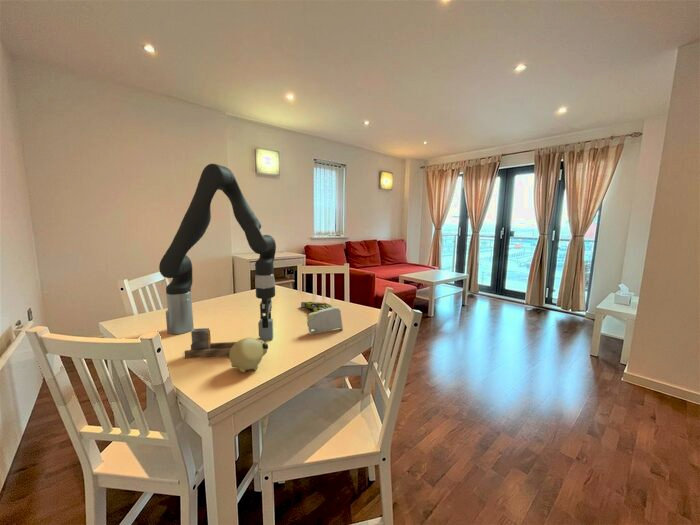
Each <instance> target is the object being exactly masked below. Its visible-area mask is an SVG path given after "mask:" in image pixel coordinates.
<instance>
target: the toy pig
mask: <svg viewBox="0 0 700 525" xmlns="http://www.w3.org/2000/svg"><path fill="white" fill-rule="evenodd" d="M235 342H236V343H235V344H234V345H233V346H232V347H231V349H230V353H229V361H230V363H231V364H230V366H231V367H232V368H235V369H238V370H239V371H240V372H241V373H245V371H248V370H252V369H253V370H254V371H257V370H258V368H259V364H260V363H261V361H262V360H263V359H262V358H263V357H264V356H265V355H266V354H267V353H268V349H269V344H268V343H266V342H265V340H260V339H258V338H256V339H255V338H254V337H247V338H242V339H239V340H238V341H235Z"/></svg>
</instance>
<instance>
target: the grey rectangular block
mask: <svg viewBox="0 0 700 525" xmlns="http://www.w3.org/2000/svg"><path fill="white" fill-rule="evenodd" d="M257 326H258V327H257V329H258V337H259V340H262V341H273V340H274V319H273V318H271V319H268V328H262V319H261V318H259V321H258V325H257Z"/></svg>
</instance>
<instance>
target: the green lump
mask: <svg viewBox="0 0 700 525" xmlns="http://www.w3.org/2000/svg"><path fill="white" fill-rule="evenodd" d="M300 307H303V308H306V309H307V308H308V309H309V310H313V312H317V311H319V310H320V309H326V308H330V307H333V306H332V305H331V304H329V303H327V302H317V301H316V302H315V301H301V302H300Z"/></svg>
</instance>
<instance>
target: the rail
mask: <svg viewBox="0 0 700 525" xmlns="http://www.w3.org/2000/svg"><path fill="white" fill-rule="evenodd" d="M190 332H191V333H190V334H191V344H190V349H189V350H188V349H187V350H184V359H187V360H188V359H207V358H222V357H223V358H224V357H225V358H227V357H229V353H230V349H231V347H232V346H233V345H234V344H235V343H236V342H237V341H230V342H229V341H226V342H212V339H211V330H210V328H209V327H208V328H207V327H205V328H204V327H201V328H194V329H193V330H191V331H190Z"/></svg>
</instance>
